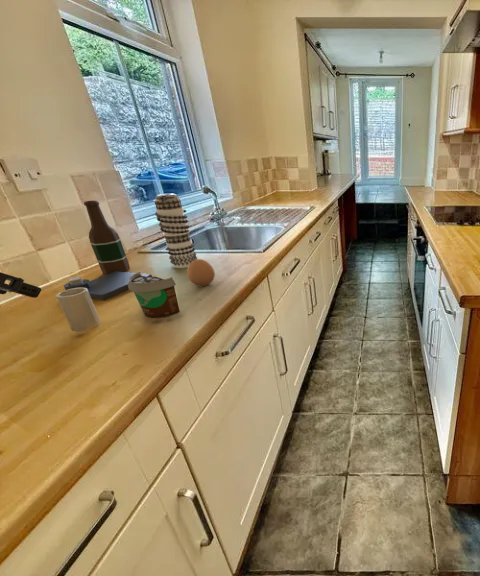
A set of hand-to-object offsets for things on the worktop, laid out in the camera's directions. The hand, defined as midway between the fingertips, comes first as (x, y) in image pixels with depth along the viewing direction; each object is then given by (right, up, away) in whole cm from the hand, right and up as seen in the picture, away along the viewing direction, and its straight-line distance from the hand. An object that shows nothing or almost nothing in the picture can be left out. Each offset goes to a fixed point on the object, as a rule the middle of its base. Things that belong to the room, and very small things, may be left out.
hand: (22, 291), depth 65 cm
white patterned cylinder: (0, +9, +53) cm, 54 cm away
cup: (+2, -8, +12) cm, 15 cm away
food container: (+15, -6, +17) cm, 24 cm away
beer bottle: (-19, +6, +46) cm, 51 cm away
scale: (-10, +1, +33) cm, 35 cm away
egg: (+18, +1, +35) cm, 39 cm away
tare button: (-16, +2, +28) cm, 32 cm away
